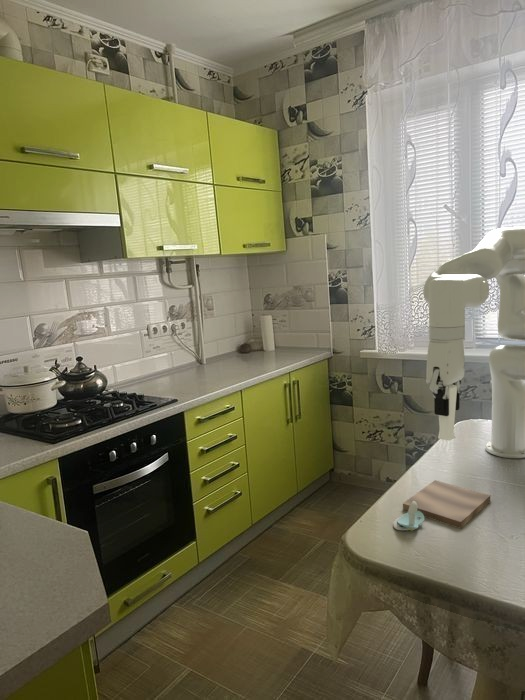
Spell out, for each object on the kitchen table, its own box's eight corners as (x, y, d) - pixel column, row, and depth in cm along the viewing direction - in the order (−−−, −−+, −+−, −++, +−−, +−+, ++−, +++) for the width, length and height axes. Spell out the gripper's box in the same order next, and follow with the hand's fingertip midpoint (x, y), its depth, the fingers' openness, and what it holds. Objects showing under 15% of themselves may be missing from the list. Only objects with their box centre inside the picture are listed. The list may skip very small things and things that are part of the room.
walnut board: (435, 485, 132) (435, 480, 132) (490, 501, 122) (490, 495, 122) (402, 509, 121) (402, 503, 121) (460, 528, 111) (460, 522, 111)
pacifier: (388, 530, 113) (414, 537, 109) (386, 503, 112) (413, 509, 108) (401, 516, 118) (427, 522, 115) (400, 490, 117) (425, 496, 114)
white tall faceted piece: (457, 441, 116) (457, 377, 113) (437, 440, 117) (436, 376, 115) (456, 434, 120) (456, 372, 118) (437, 433, 122) (436, 372, 119)
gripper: (447, 327, 123) (448, 400, 126) (412, 338, 111) (413, 419, 115) (479, 328, 118) (478, 405, 121) (445, 340, 106) (445, 425, 109)
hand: (447, 411), depth 118 cm, fingers closed on white tall faceted piece, 4 cm apart
